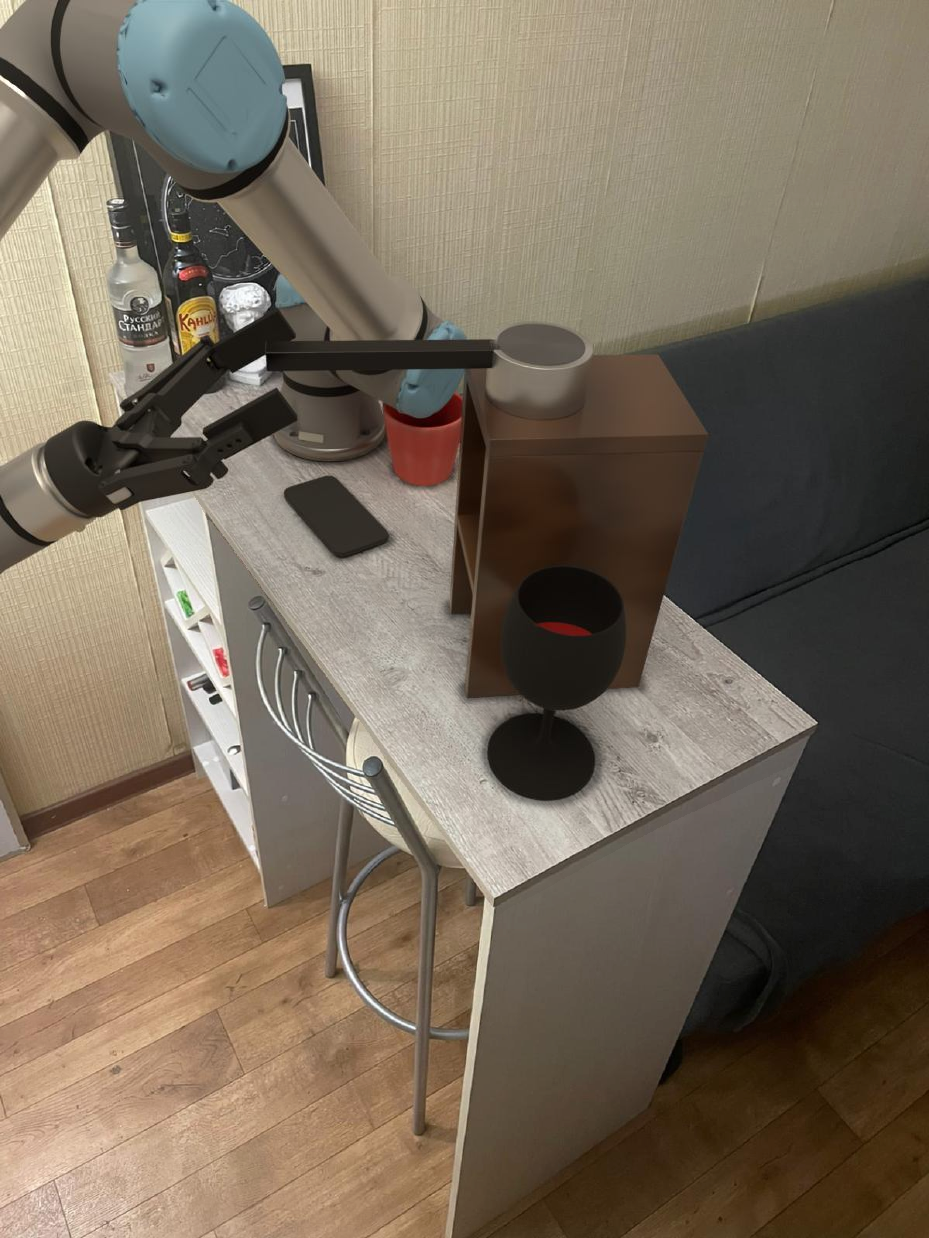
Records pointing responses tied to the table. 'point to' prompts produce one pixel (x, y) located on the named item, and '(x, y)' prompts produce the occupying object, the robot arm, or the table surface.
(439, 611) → the table surface
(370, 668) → the table surface
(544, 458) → the shelf
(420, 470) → the flower pot
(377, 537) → the phone
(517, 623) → the wine glass
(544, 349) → the pan
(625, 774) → the table surface
